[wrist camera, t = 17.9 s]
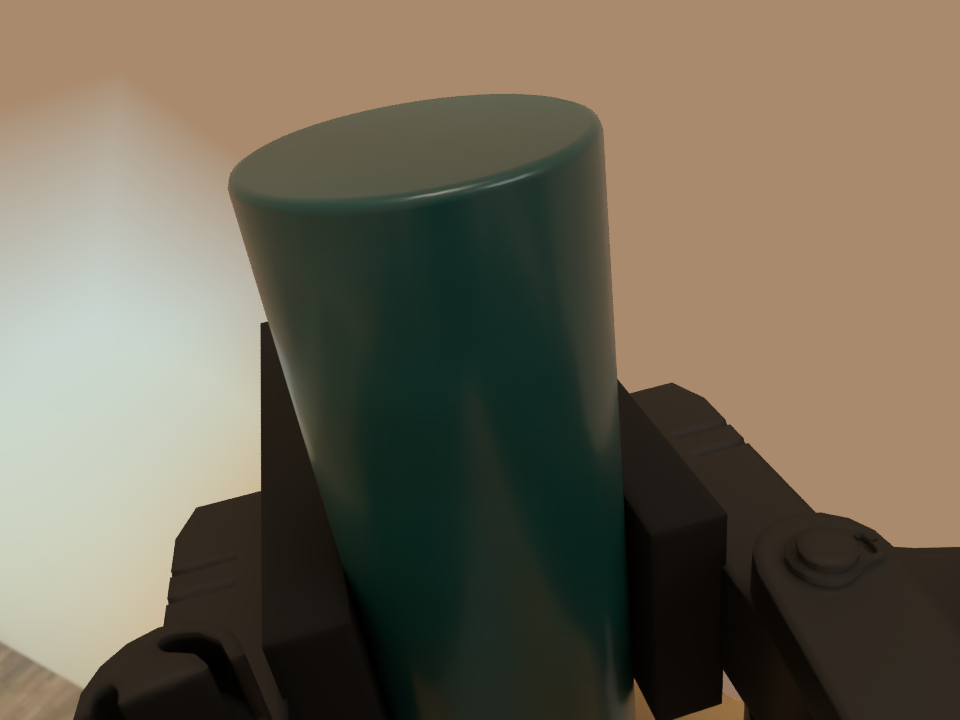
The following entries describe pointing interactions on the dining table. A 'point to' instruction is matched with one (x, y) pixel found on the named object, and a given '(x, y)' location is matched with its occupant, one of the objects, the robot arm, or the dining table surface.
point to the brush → (459, 395)
